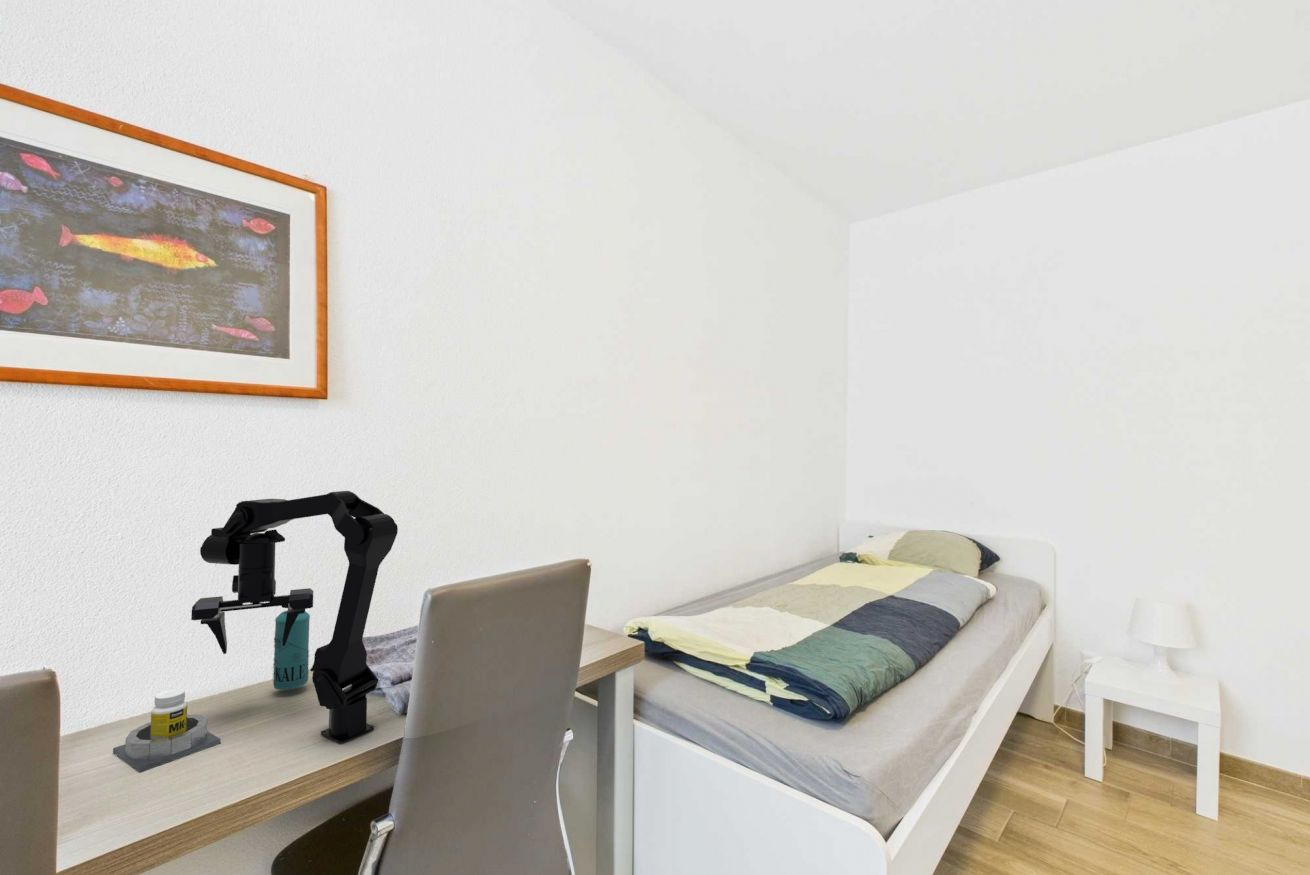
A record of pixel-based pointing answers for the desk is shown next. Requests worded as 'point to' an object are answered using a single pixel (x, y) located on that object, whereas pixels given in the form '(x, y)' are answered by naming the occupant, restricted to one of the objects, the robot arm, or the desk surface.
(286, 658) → the beverage bottle
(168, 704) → the supplement bottle
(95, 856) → the desk surface
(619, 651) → the desk surface
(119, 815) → the desk surface
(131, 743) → the ring plate
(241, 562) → the robot arm
